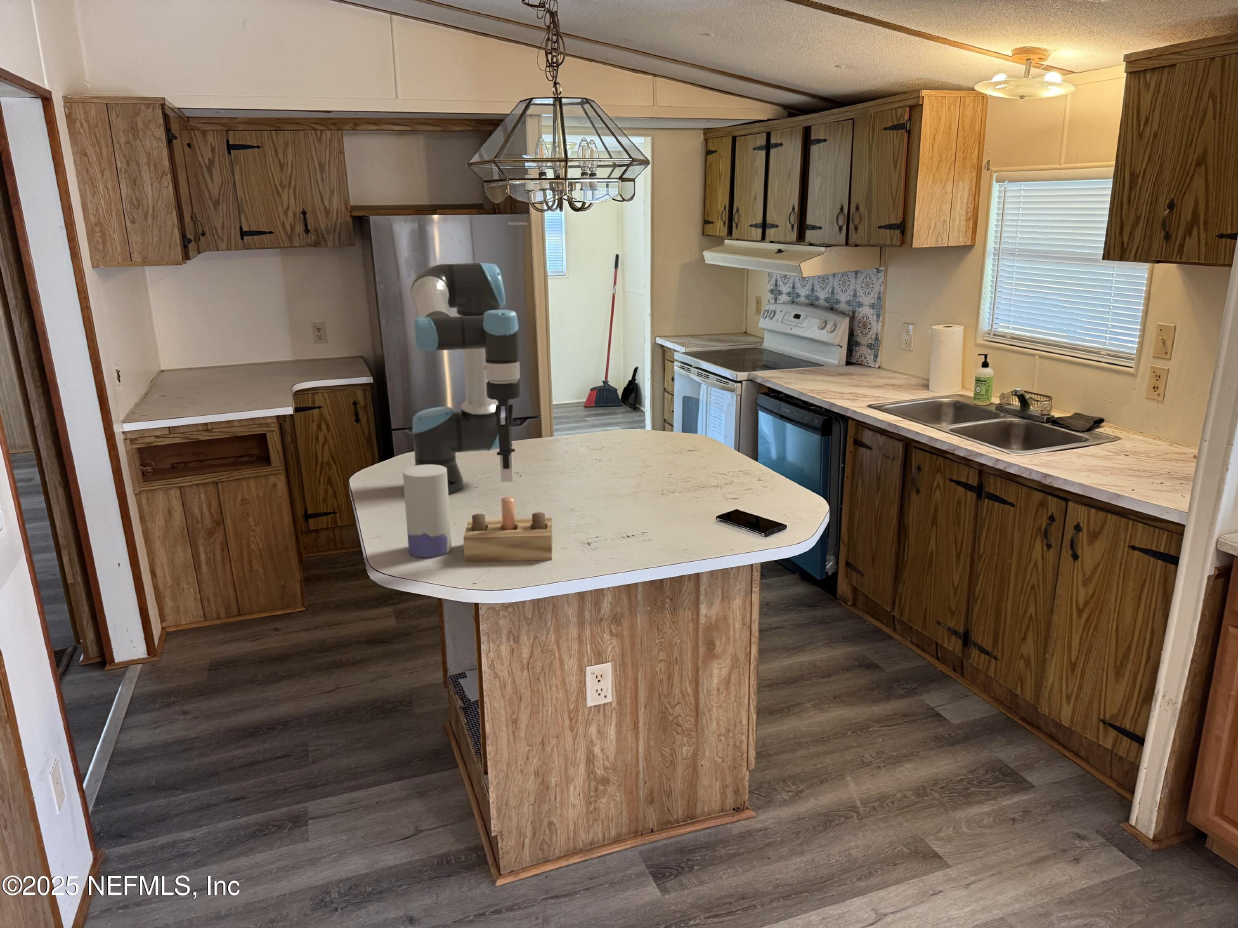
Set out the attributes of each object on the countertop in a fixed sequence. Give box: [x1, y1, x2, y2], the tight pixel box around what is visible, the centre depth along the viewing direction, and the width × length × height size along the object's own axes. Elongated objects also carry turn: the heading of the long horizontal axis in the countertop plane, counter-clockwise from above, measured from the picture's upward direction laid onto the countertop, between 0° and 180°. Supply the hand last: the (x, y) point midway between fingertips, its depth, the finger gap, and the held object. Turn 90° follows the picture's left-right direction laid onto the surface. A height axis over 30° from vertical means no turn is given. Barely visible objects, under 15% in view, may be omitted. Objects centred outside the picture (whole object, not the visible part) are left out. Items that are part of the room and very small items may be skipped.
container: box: [402, 465, 453, 558], centre depth 203 cm, size 10×10×20 cm
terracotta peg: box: [501, 496, 516, 530], centre depth 202 cm, size 3×3×8 cm
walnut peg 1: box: [471, 513, 486, 531], centre depth 203 cm, size 3×3×8 cm
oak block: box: [462, 517, 553, 563], centre depth 204 cm, size 12×20×6 cm, turn 94°
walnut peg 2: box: [531, 511, 546, 530], centre depth 204 cm, size 3×3×8 cm
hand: (507, 480), depth 200 cm, fingers closed
